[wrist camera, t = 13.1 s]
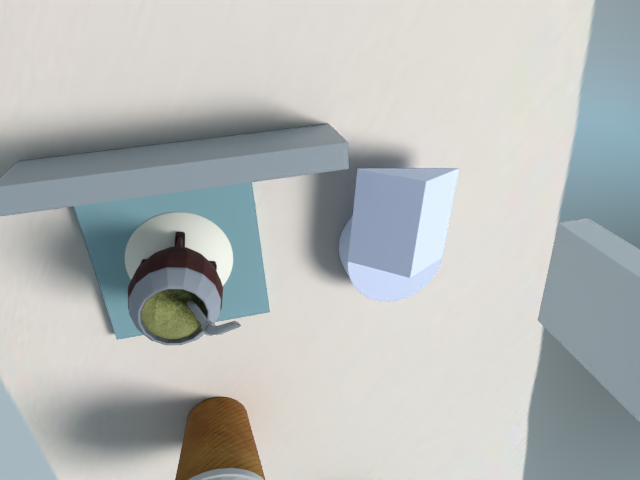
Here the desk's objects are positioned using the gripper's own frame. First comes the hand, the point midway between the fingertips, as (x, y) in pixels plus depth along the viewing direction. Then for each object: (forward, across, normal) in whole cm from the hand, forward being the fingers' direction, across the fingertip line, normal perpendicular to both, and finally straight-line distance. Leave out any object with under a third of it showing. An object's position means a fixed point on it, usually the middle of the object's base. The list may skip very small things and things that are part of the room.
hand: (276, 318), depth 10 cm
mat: (+30, -6, -15) cm, 34 cm away
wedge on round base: (+31, +13, -14) cm, 36 cm away
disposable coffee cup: (+30, -5, -35) cm, 46 cm away
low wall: (+31, -4, -6) cm, 31 cm away
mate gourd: (+30, -6, -14) cm, 33 cm away
